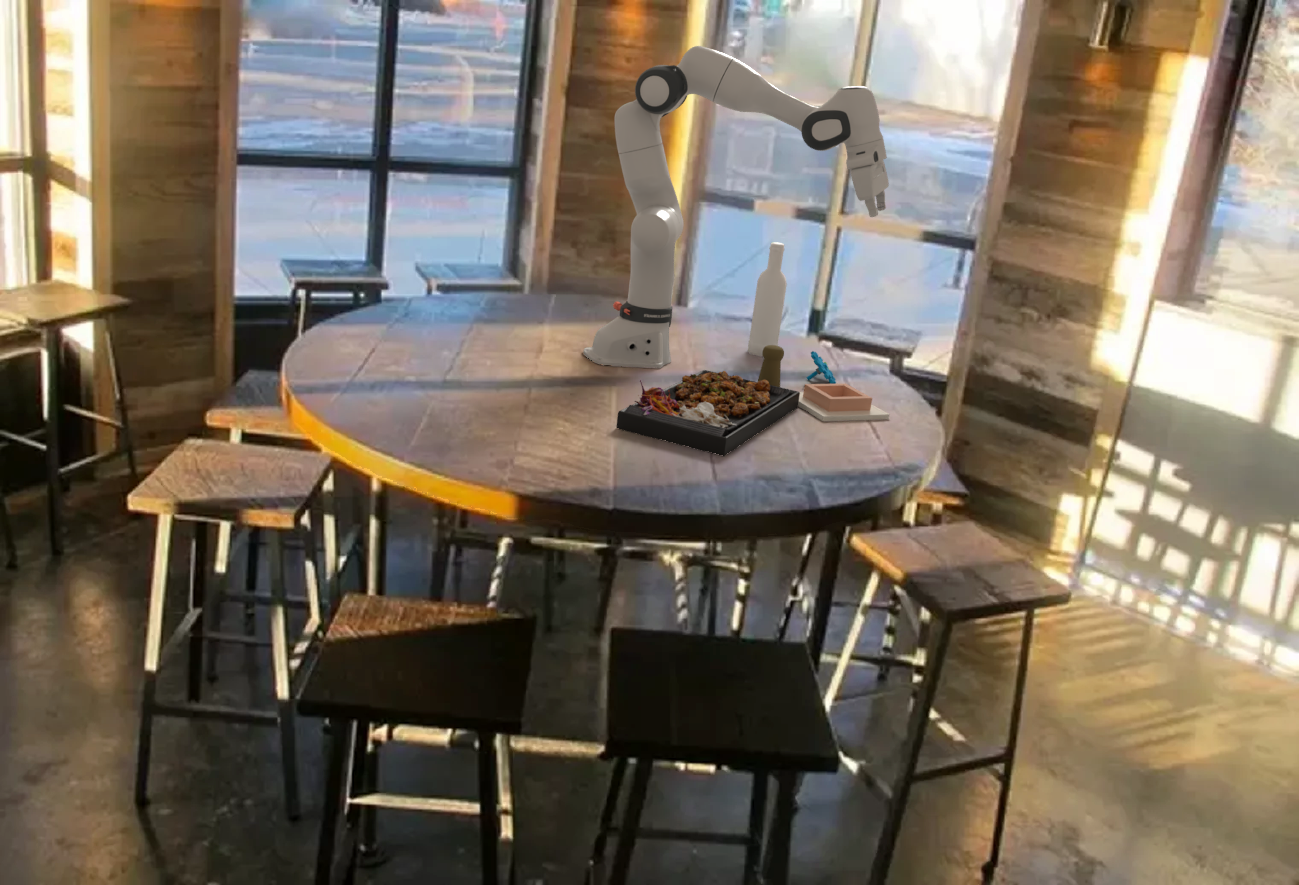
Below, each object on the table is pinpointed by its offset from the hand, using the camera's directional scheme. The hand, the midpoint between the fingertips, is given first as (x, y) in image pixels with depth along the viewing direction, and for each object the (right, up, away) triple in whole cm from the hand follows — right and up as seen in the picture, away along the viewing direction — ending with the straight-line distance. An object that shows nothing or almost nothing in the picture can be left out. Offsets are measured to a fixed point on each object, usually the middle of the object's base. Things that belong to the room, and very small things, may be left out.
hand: (878, 213), depth 291 cm
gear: (-11, -39, +20) cm, 45 cm away
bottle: (-24, -31, +41) cm, 56 cm away
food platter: (-41, -50, -19) cm, 67 cm away
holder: (-10, -46, -2) cm, 47 cm away
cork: (-26, -42, +7) cm, 49 cm away
